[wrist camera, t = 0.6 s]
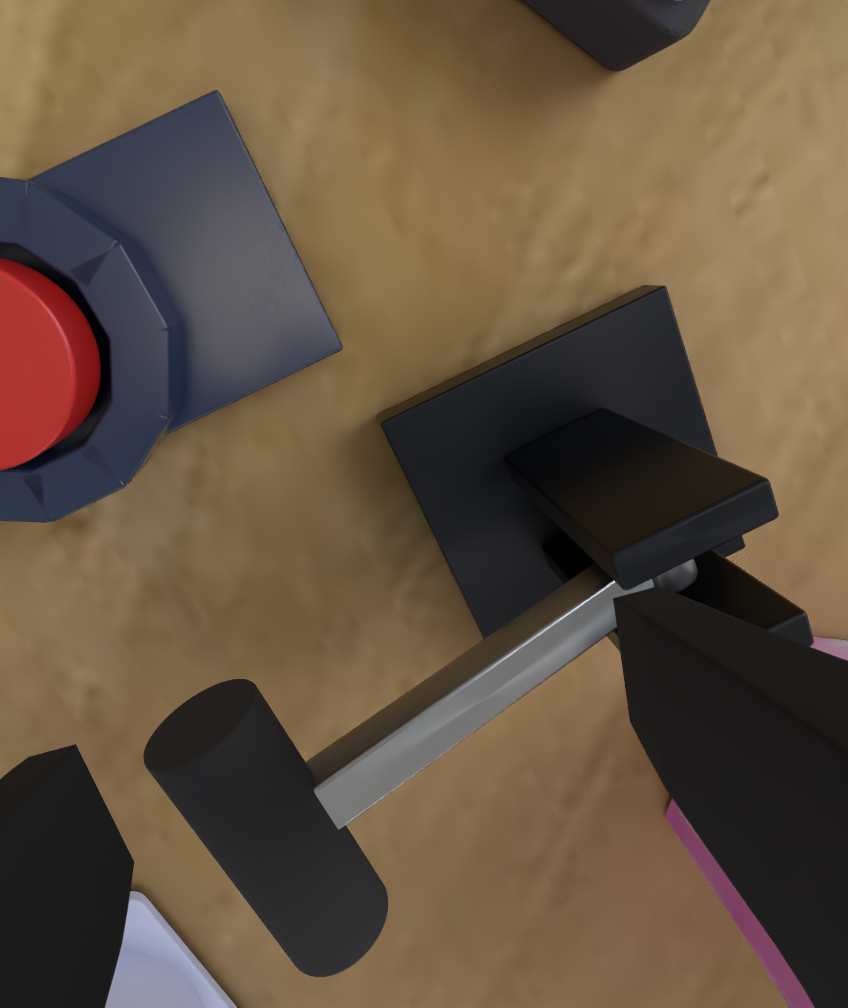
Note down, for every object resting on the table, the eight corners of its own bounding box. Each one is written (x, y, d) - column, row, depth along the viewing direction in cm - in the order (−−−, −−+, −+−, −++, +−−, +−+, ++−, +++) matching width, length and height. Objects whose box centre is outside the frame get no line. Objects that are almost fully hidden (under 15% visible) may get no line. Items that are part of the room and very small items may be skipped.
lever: (281, 919, 14) (305, 1004, 12) (140, 728, 12) (144, 792, 10) (681, 620, 16) (751, 652, 15) (612, 431, 15) (682, 440, 13)
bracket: (488, 648, 21) (589, 856, 14) (375, 414, 19) (421, 509, 11) (723, 533, 21) (956, 677, 14) (644, 284, 19) (879, 288, 11)
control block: (-1, 529, 18) (-58, 575, 15) (-189, 272, 16) (-298, 270, 13) (349, 360, 18) (357, 376, 15) (213, 80, 16) (192, 37, 13)
